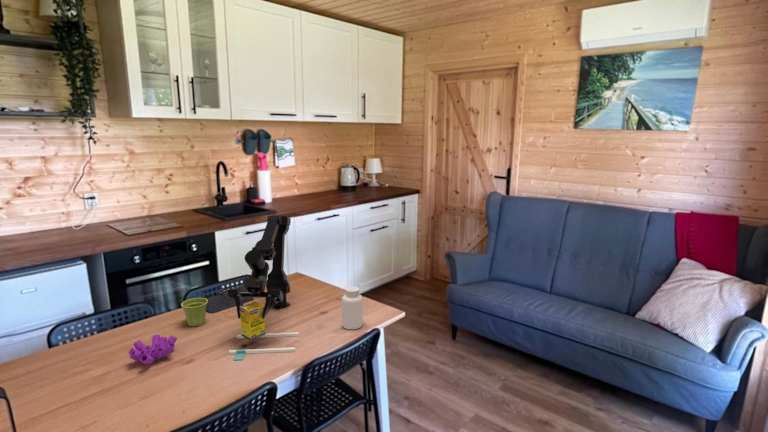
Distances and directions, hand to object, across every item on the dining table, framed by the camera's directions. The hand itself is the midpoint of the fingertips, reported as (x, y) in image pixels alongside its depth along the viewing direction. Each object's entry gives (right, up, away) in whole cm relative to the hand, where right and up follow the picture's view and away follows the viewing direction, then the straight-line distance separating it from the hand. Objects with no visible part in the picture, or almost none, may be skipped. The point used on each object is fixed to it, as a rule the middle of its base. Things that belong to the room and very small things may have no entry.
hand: (250, 318), depth 145 cm
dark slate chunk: (-24, -3, +40) cm, 47 cm away
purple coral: (-30, -12, -5) cm, 33 cm away
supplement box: (0, -7, +3) cm, 7 cm away
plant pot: (-27, -7, +20) cm, 35 cm away
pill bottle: (+33, -8, +19) cm, 39 cm away
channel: (+4, -10, +4) cm, 12 cm away
